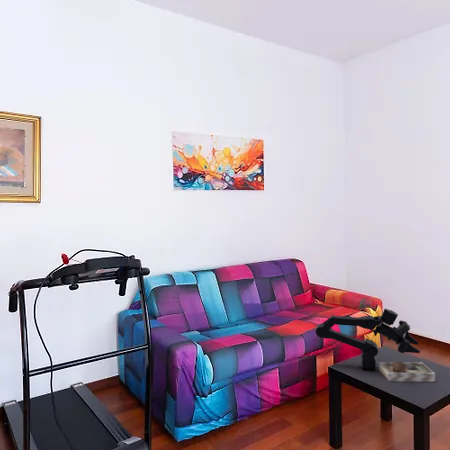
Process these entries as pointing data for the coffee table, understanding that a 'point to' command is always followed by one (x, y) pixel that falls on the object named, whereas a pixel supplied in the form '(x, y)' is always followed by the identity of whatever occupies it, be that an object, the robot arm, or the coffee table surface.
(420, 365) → the grey slotted tray
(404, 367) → the walnut block
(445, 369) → the coffee table surface
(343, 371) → the coffee table surface
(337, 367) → the coffee table surface
